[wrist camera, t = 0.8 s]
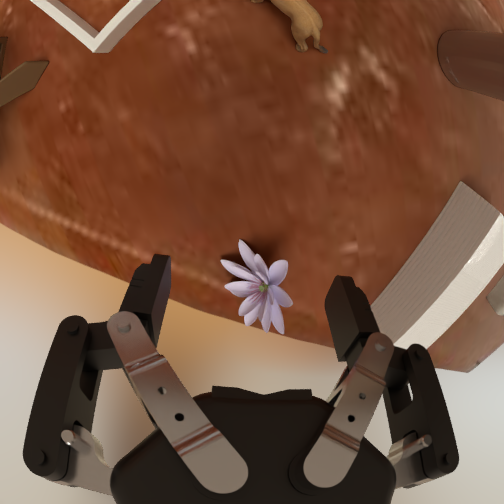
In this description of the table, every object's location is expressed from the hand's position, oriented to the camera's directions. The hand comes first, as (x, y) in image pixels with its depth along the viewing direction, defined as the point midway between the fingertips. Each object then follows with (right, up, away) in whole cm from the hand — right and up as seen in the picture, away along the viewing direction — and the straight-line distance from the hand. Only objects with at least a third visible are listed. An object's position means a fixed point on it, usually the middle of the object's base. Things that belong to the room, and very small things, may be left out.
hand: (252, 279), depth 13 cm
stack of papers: (+33, 0, +32) cm, 46 cm away
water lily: (0, -1, +30) cm, 30 cm away
